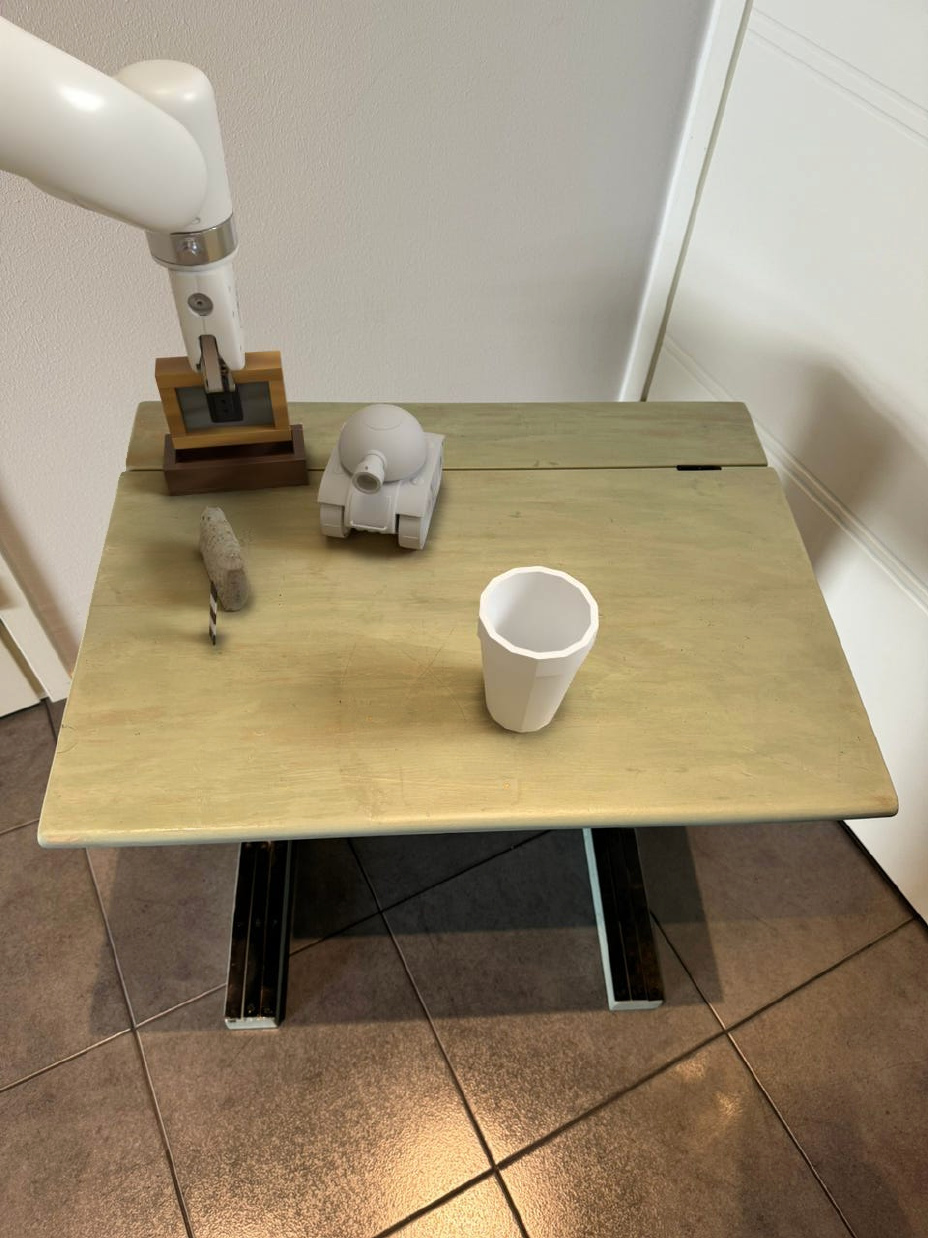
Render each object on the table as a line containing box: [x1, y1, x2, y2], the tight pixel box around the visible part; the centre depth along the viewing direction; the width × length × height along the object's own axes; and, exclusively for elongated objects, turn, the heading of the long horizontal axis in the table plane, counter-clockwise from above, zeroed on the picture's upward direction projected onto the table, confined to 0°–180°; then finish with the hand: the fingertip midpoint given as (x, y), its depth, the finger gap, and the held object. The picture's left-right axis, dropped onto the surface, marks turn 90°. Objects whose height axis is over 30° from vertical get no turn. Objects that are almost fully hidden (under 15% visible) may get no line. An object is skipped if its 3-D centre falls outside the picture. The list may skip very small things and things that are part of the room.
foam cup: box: [476, 565, 600, 734], centre depth 70 cm, size 10×9×13 cm
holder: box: [162, 423, 310, 497], centre depth 91 cm, size 15×6×4 cm, turn 101°
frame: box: [154, 350, 292, 449], centre depth 85 cm, size 3×12×9 cm, turn 101°
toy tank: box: [316, 403, 446, 550], centre depth 84 cm, size 15×11×13 cm
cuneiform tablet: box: [198, 505, 251, 646], centre depth 79 cm, size 7×4×12 cm
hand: (227, 407), depth 86 cm, fingers closed on frame, 2 cm apart
